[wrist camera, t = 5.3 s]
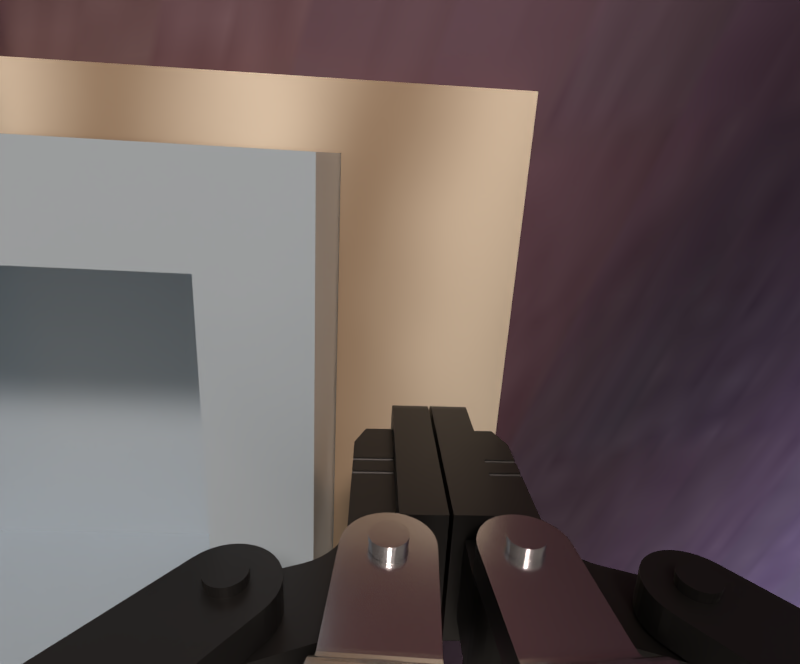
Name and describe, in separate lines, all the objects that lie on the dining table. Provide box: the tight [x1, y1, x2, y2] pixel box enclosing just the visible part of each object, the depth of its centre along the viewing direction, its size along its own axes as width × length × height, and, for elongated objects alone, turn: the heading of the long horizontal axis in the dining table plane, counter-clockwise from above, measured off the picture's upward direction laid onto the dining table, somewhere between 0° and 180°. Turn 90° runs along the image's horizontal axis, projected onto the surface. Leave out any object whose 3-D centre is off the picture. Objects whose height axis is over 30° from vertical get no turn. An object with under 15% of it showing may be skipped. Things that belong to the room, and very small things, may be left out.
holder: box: [0, 133, 341, 664], centre depth 11 cm, size 11×11×5 cm
